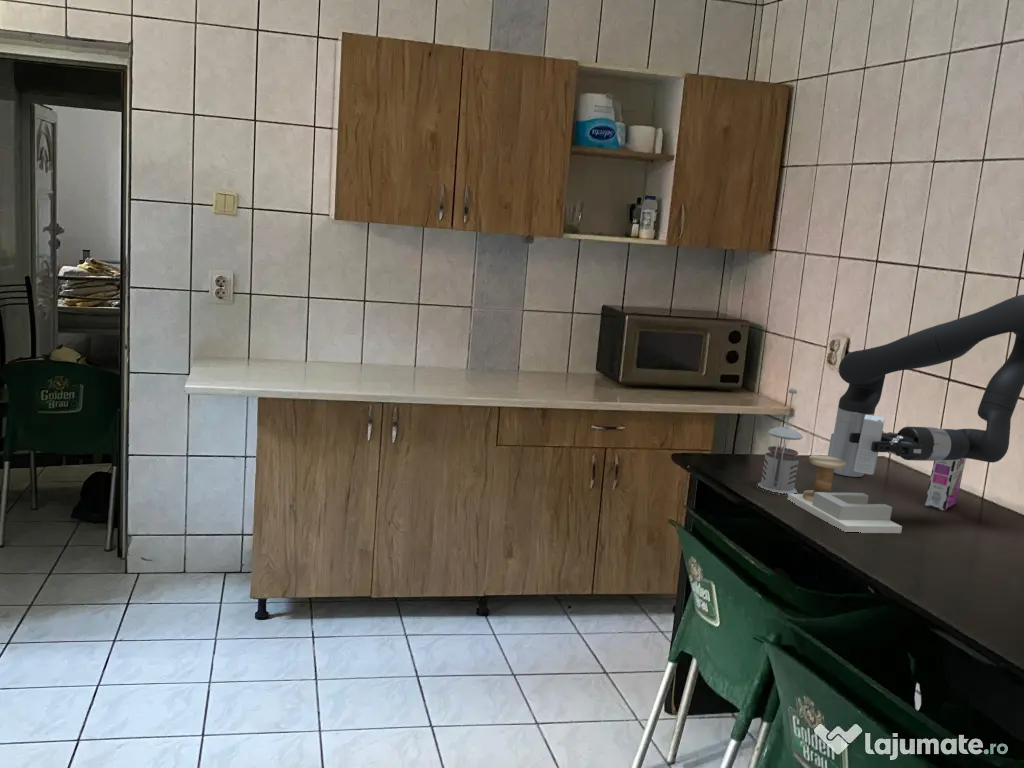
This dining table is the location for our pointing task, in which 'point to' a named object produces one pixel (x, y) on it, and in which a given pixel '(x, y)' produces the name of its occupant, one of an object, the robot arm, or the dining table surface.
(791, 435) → the french press
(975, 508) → the dining table surface
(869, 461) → the skincare box
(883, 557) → the dining table surface
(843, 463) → the bobbin
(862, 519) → the notched board
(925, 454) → the robot arm
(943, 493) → the candy bar box
